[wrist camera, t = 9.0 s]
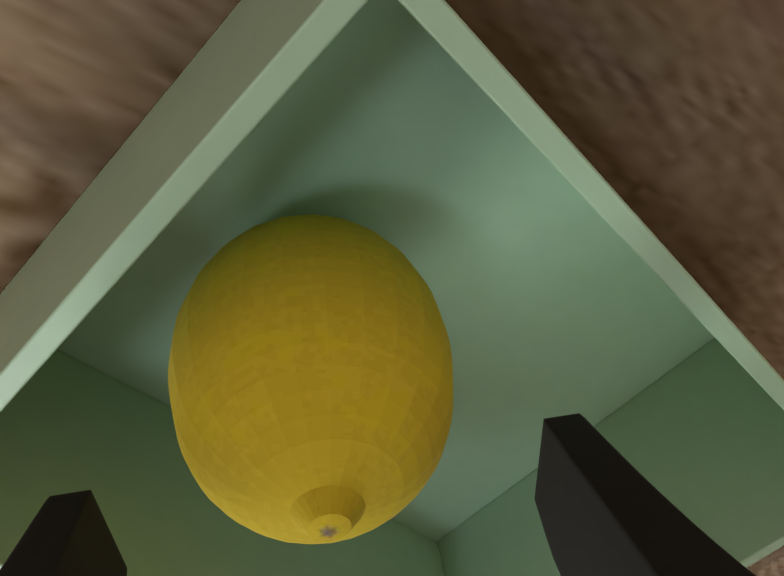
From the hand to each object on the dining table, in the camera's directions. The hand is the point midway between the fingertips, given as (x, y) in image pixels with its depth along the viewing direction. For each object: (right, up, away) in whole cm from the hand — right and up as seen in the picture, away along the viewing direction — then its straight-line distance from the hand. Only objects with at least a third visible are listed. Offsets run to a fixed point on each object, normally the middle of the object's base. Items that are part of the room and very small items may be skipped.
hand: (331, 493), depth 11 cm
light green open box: (+1, +2, +8) cm, 8 cm away
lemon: (-1, +4, +6) cm, 7 cm away
